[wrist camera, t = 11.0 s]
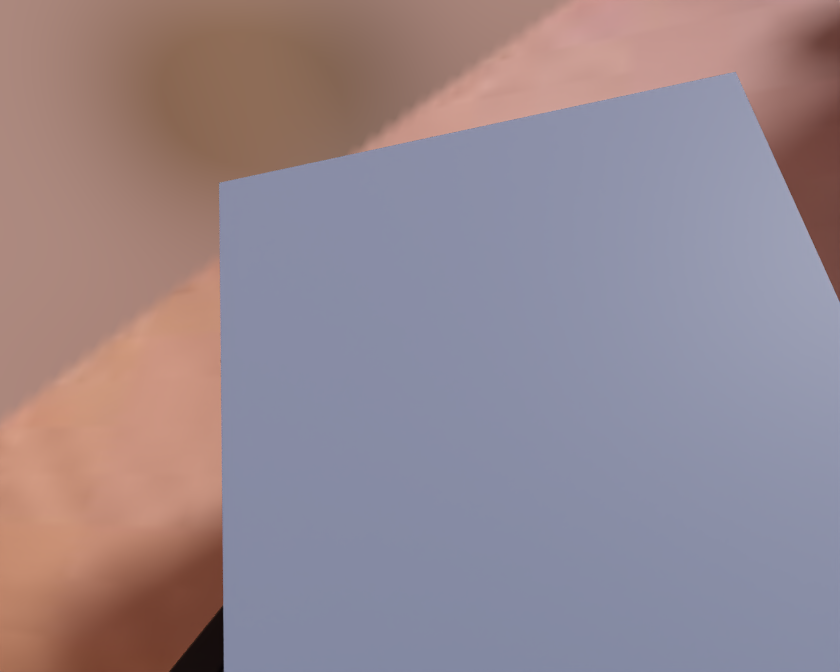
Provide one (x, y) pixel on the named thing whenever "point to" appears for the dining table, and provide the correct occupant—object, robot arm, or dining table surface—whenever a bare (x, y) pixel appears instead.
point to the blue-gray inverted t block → (532, 402)
